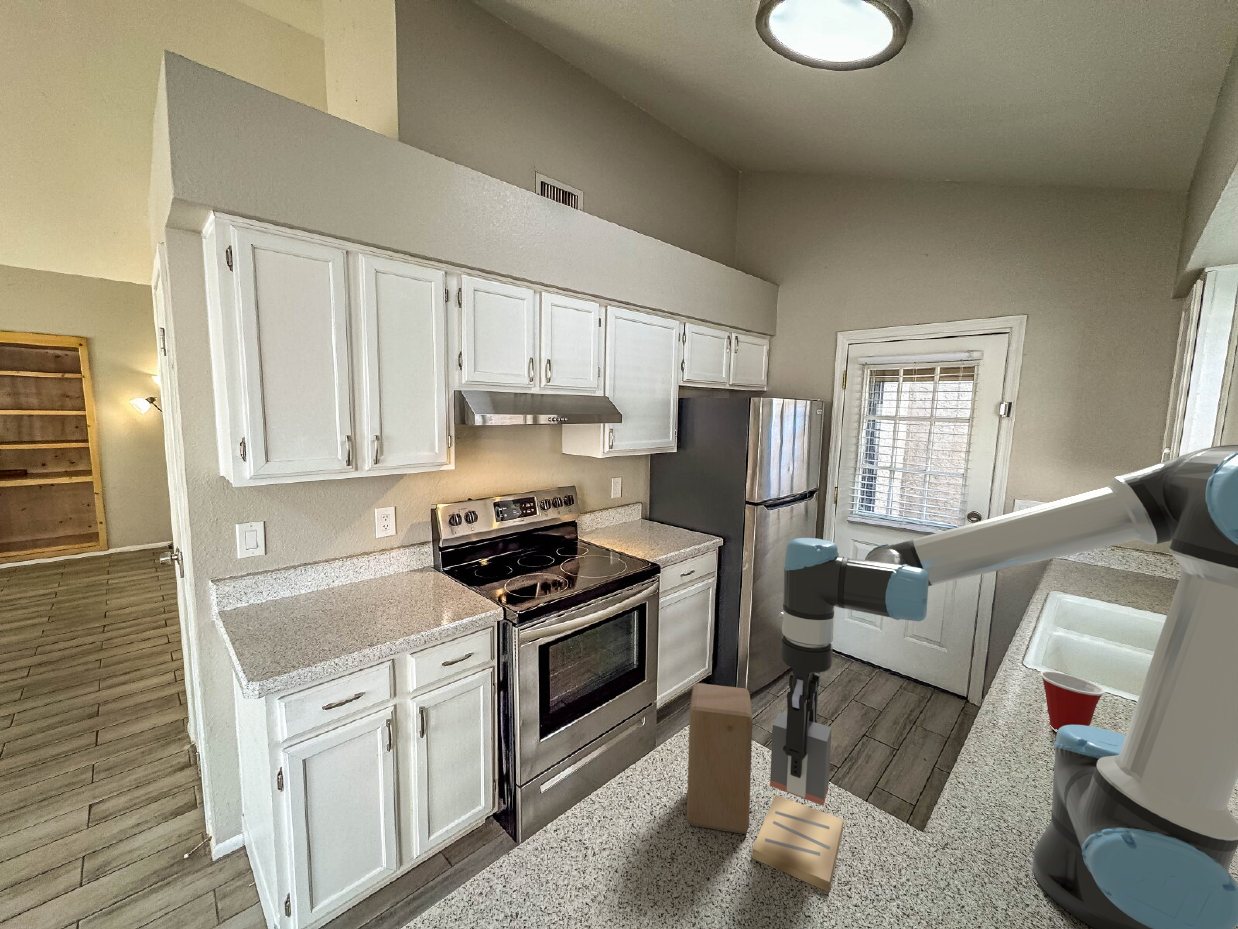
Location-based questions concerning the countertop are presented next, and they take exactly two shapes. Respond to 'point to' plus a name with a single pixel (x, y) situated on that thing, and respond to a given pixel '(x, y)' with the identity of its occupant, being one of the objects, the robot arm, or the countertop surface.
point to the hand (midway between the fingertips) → (799, 783)
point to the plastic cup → (1070, 699)
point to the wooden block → (719, 758)
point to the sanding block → (816, 760)
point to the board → (799, 842)
